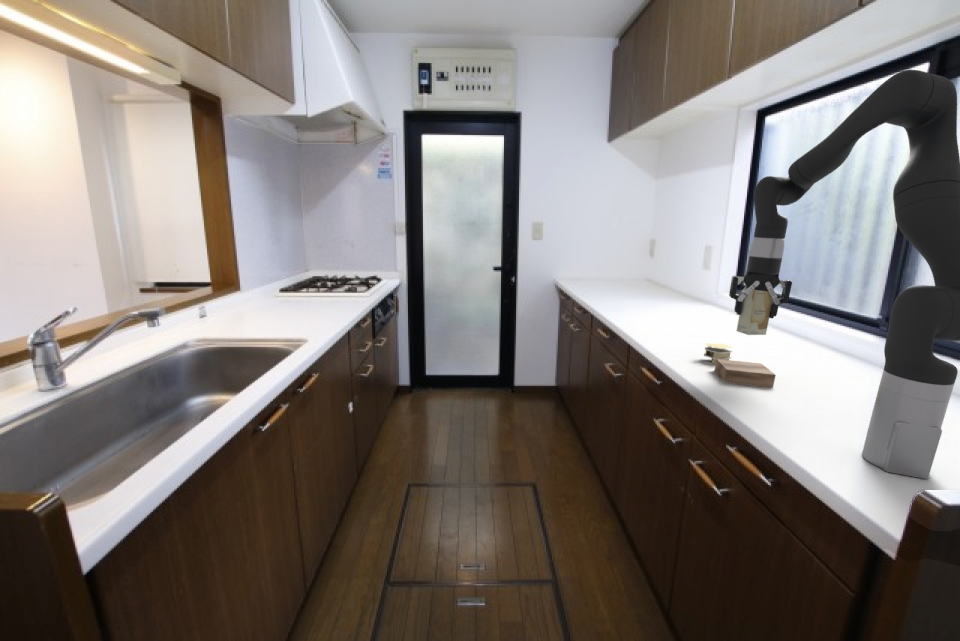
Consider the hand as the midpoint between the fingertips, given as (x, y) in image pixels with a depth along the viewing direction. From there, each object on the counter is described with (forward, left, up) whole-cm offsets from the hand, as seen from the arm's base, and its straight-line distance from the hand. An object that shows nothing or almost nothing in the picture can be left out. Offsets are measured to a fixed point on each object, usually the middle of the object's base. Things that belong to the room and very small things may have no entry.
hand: (754, 316), depth 124 cm
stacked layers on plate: (+15, +5, -19) cm, 24 cm away
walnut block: (0, 0, -18) cm, 18 cm away
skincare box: (0, 0, -5) cm, 5 cm away
